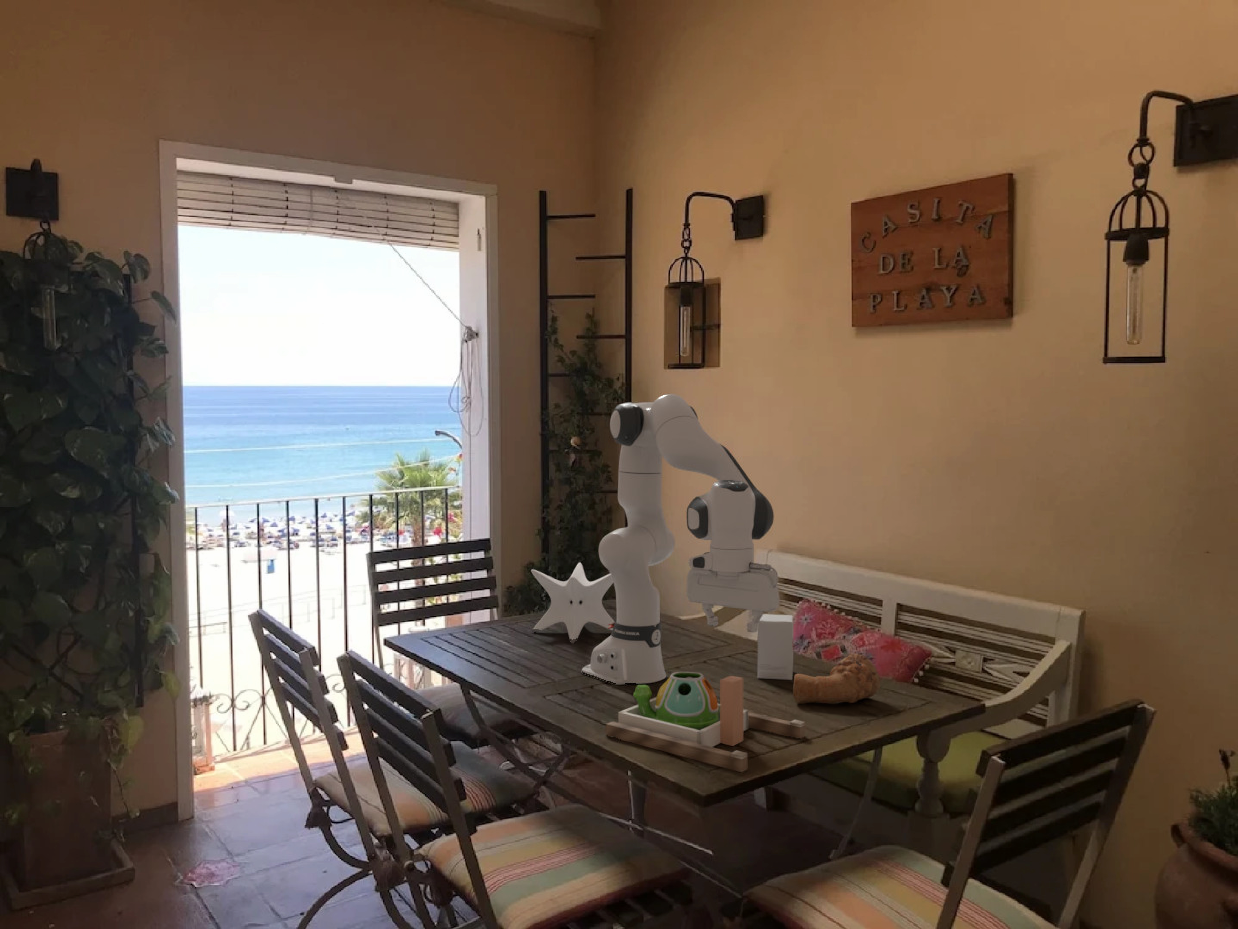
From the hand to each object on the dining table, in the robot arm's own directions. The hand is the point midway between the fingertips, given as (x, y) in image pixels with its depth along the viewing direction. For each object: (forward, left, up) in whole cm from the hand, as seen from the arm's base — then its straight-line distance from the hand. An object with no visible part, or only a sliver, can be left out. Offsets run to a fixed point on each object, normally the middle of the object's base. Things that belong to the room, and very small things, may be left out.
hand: (732, 628), depth 189 cm
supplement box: (-18, +50, -24) cm, 58 cm away
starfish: (-90, +54, -24) cm, 108 cm away
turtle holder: (-13, 0, -24) cm, 27 cm away
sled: (-11, 0, -23) cm, 26 cm away
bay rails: (-7, 0, -24) cm, 24 cm away
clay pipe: (+4, +40, -24) cm, 46 cm away
